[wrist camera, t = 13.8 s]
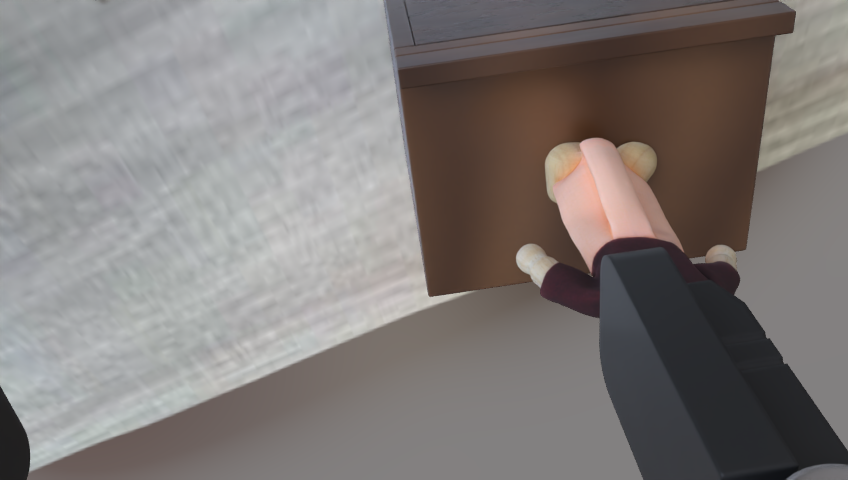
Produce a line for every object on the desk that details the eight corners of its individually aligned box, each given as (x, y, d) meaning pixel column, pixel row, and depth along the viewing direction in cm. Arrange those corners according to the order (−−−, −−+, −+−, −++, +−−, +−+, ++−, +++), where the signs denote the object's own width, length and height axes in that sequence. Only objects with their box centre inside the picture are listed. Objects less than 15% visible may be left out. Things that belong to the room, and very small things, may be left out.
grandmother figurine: (683, 113, 31) (864, 322, 20) (676, 198, 33) (837, 426, 22) (485, 142, 31) (564, 367, 20) (492, 225, 33) (567, 468, 22)
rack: (406, 160, 45) (431, 315, 34) (378, -38, 39) (397, 68, 27) (650, 124, 45) (759, 266, 34) (660, -78, 39) (797, 11, 28)
